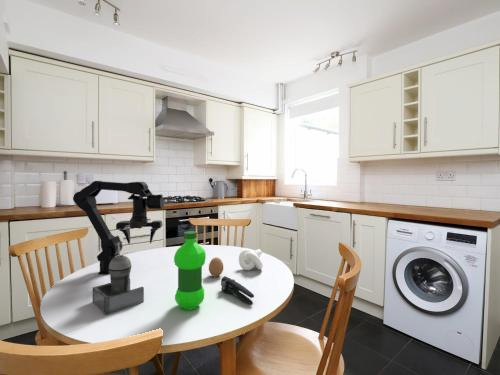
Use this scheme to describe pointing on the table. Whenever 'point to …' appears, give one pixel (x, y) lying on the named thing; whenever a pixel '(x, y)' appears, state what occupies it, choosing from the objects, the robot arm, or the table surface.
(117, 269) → the beverage cup
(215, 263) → the egg
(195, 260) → the plastic bottle
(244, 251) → the white rounded lump
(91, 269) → the table surface
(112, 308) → the box
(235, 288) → the can opener
